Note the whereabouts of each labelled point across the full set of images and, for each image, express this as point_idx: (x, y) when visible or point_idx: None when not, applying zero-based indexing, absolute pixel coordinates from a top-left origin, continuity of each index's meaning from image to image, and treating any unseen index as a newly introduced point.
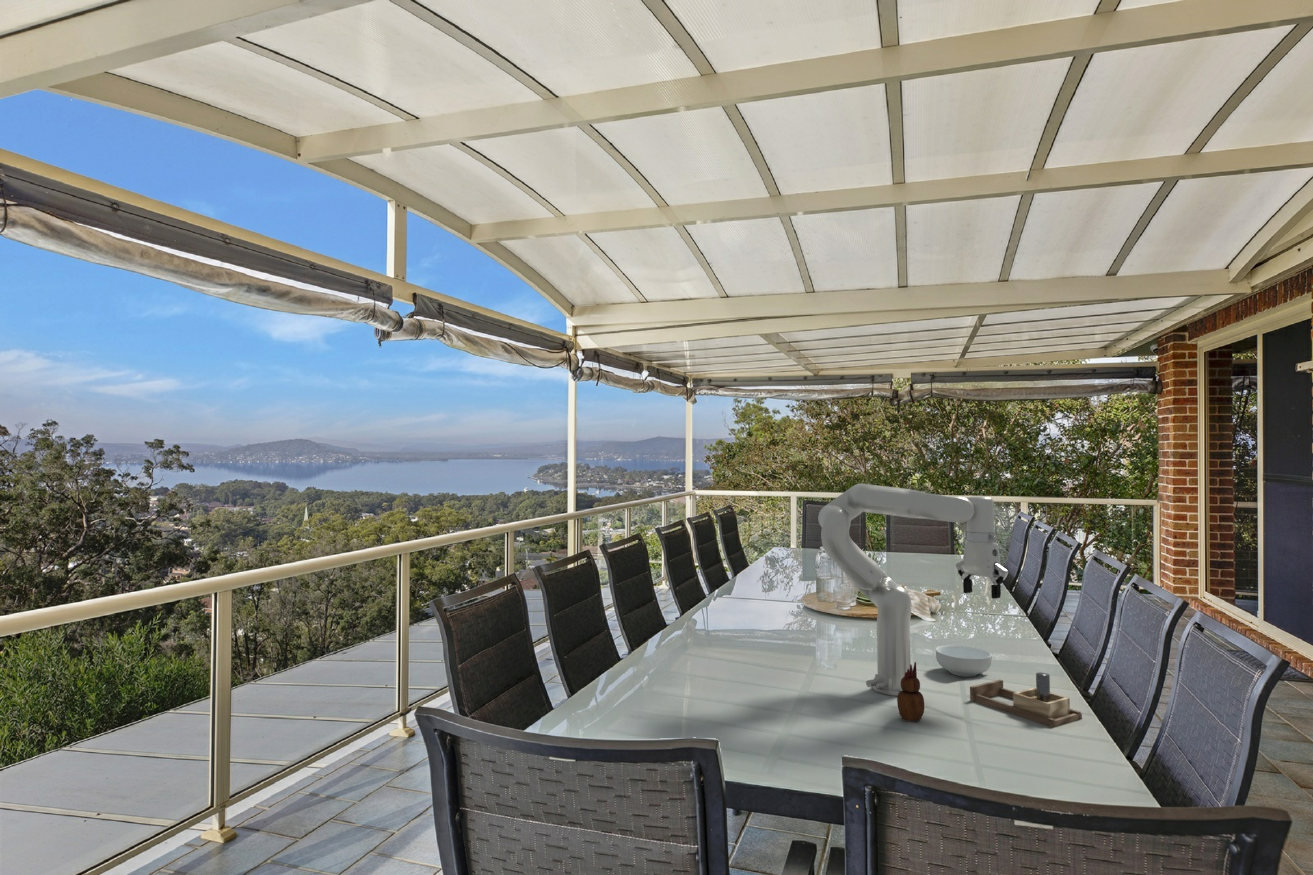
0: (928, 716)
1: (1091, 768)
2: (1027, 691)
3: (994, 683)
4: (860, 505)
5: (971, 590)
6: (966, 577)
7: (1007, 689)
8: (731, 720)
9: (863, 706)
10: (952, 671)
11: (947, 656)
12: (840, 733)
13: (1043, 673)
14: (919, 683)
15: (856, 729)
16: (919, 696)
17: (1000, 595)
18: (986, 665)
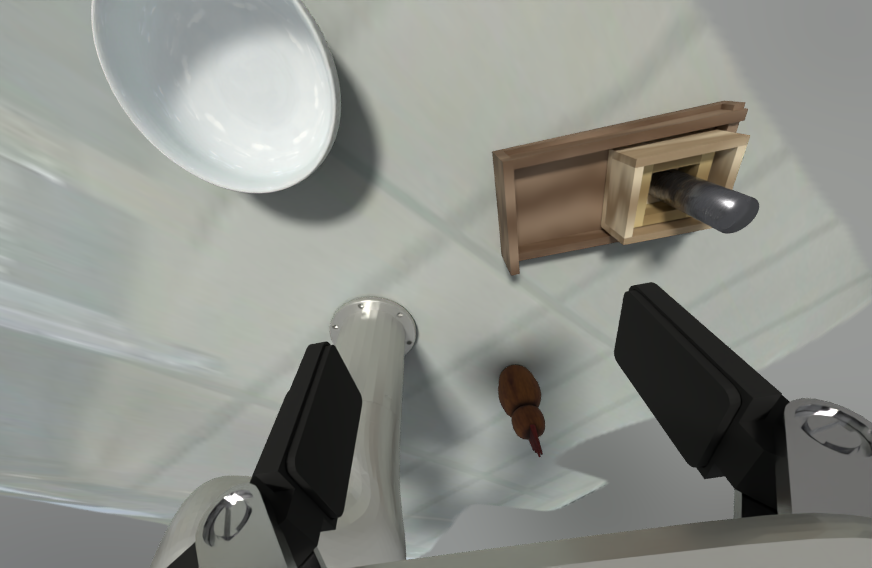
0: (513, 347)
1: (795, 273)
2: (637, 198)
3: (514, 197)
4: None
5: (333, 362)
6: (305, 552)
7: (526, 157)
8: (429, 495)
9: (436, 397)
10: (292, 154)
11: (283, 189)
12: (509, 443)
13: (737, 207)
14: (543, 419)
15: (507, 429)
16: (539, 402)
17: (664, 291)
18: (331, 54)
